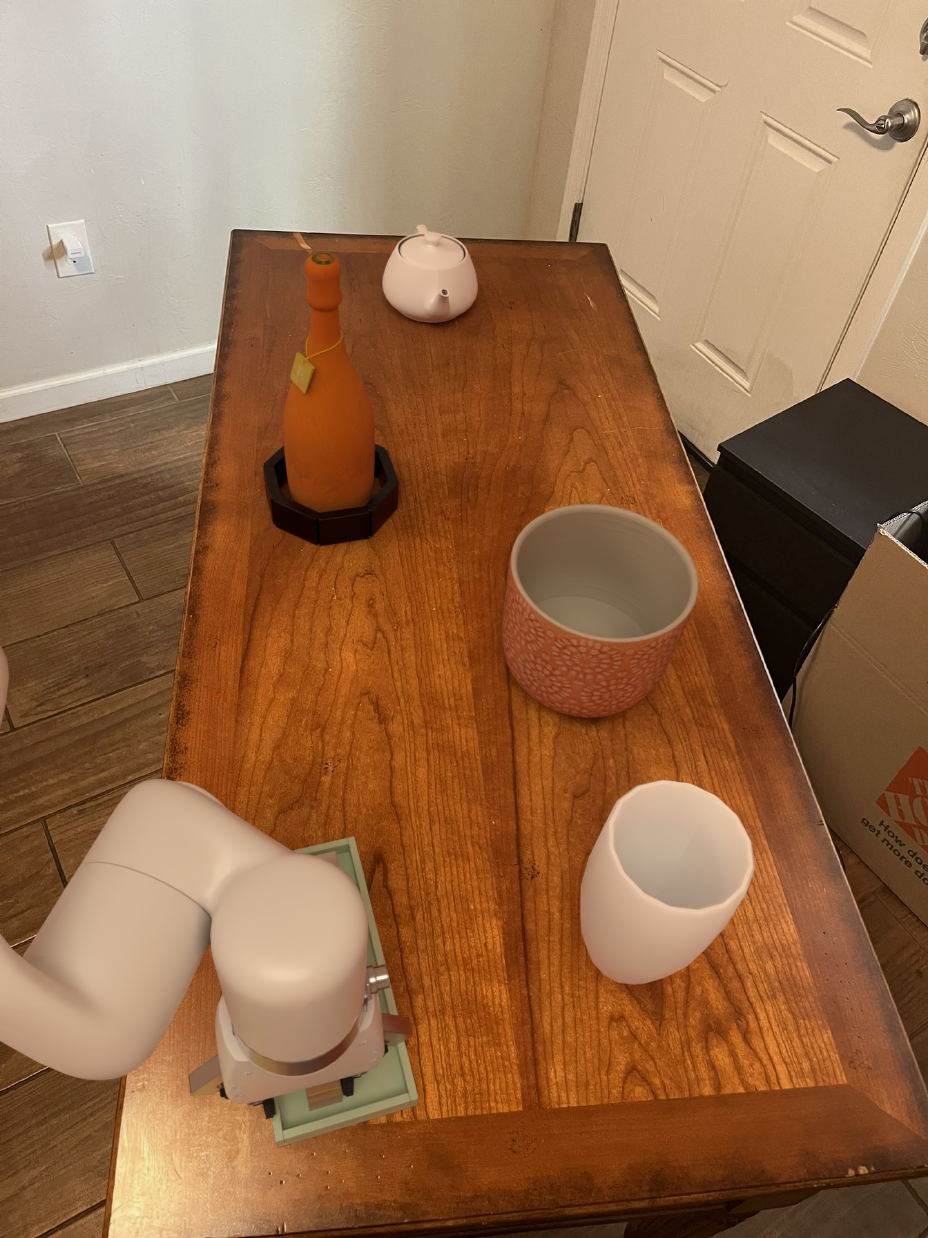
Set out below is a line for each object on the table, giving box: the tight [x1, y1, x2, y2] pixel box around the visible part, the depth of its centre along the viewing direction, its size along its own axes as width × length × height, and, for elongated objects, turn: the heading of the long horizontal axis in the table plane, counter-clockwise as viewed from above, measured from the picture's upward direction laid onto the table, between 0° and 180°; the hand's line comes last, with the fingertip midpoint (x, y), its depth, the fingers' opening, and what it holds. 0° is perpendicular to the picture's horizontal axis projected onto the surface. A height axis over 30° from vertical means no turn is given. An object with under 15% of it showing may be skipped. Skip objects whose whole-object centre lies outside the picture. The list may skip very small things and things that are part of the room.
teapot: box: [382, 223, 479, 324], centre depth 133 cm, size 22×14×11 cm, turn 11°
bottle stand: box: [262, 443, 400, 547], centre depth 108 cm, size 14×14×4 cm
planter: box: [501, 503, 700, 719], centre depth 90 cm, size 17×17×15 cm
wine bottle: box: [282, 252, 376, 513], centre depth 98 cm, size 10×10×30 cm
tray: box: [271, 835, 419, 1149], centre depth 73 cm, size 10×21×2 cm, turn 17°
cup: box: [579, 779, 756, 986], centre depth 68 cm, size 10×10×22 cm
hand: (306, 1084), depth 67 cm, fingers open, 4 cm apart
